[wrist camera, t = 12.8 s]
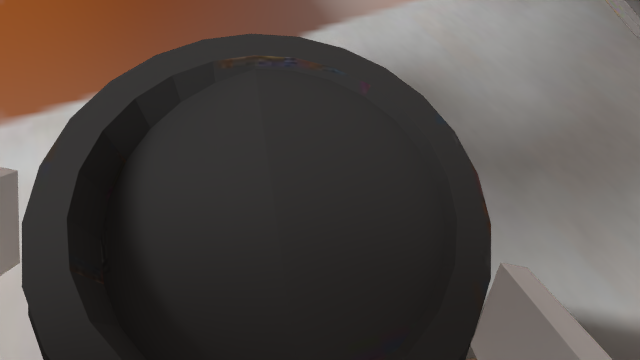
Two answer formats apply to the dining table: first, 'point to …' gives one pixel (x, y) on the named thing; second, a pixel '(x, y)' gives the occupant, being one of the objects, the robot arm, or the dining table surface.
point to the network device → (626, 15)
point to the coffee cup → (256, 214)
